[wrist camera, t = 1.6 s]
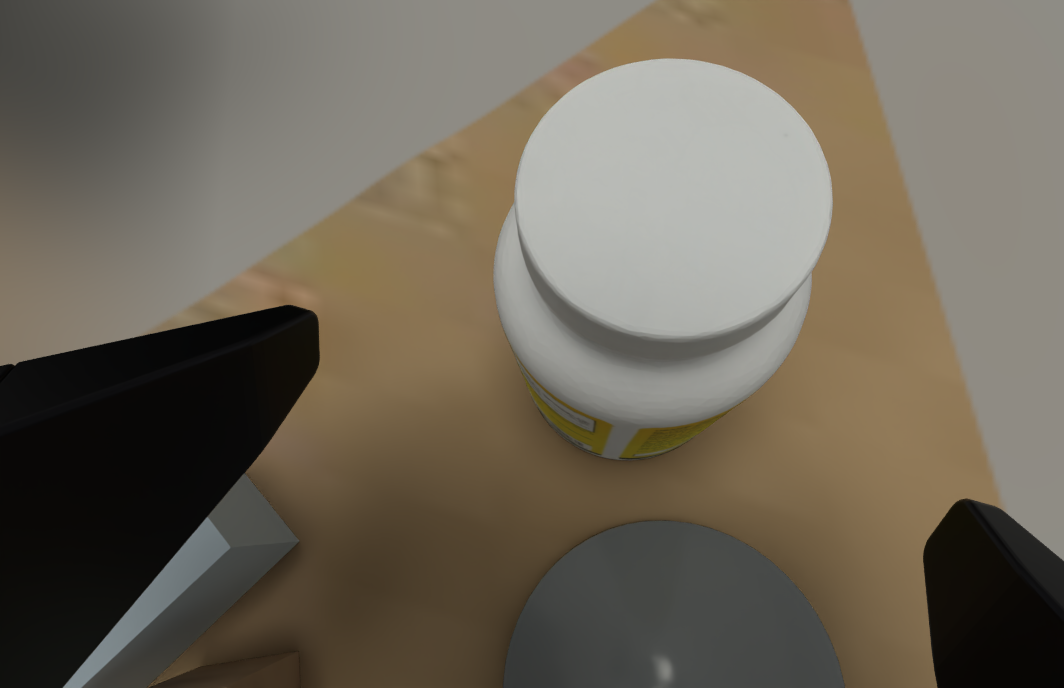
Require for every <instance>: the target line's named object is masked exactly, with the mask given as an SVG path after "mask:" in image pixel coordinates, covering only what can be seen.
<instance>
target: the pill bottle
mask: <svg viewBox="0 0 1064 688" xmlns="http://www.w3.org/2000/svg"><path fill="white" fill-rule="evenodd" d="M832 206H833V199H832V185H831V177H830V173H829V169H828V165H827V162H826V159H825V157H824V154H823V152H822V149H821V147H820V145H819V143H818V141H817V139H816V137H815V136H814V134H813V132H812V130H811V128H810V127H809V126H808V125H807V123H806V122H805V121H804V120H803V118H802V117H801V116H800V115H799V114H798V113H797V111H796V110H795V109H794V108H793V107H792V106H791V105H790V104H789V103H788V102H786V101H785V100H784V99H783V98H782V97H781V96H780V95H778V94H777V93H776V92H774V91H773V90H771V89H770V88H768V87H767V86H765V85H764V84H762V83H760V82H759V81H757V80H755V79H753V78H751V77H749V76H747V75H745V74H743V73H740V72H738V71H735V70H732V69H730V68H727V67H724V66H720V65H716V64H712V63H707V62H702V61H697V60H688V59H654V60H647V61H641V62H635V63H630V64H626V65H622V66H619V67H615V68H612V69H610V70H607V71H605V72H602V73H600V74H598V75H596V76H594V77H592V78H589V79H587V80H585V81H584V82H582V83H581V84H579V85H578V86H576V87H574V88H573V89H572V90H571V91H569V92H568V93H567V94H566V95H564V96H563V97H562V98H561V99H560V100H559V101H558V102H557V103H556V104H555V105H554V106H552V107H551V109H550V110H549V111H548V112H547V113H546V114H545V115H544V117H543V118H542V119H541V120H540V122H539V124H538V125H537V127H536V128H535V130H534V131H533V133H532V134H531V136H530V138H529V140H528V142H527V144H526V146H525V148H524V151H523V154H522V157H521V160H520V163H519V167H518V170H517V177H516V184H515V202H514V203H513V205H512V207H511V209H510V211H509V213H508V215H507V218H506V220H505V222H504V224H503V226H502V229H501V232H500V235H499V239H498V243H497V247H496V253H495V260H494V290H495V297H496V303H497V308H498V313H499V317H500V320H501V323H502V326H503V329H504V332H505V335H506V337H507V339H508V342H509V344H510V346H511V348H512V351H513V353H514V355H515V357H516V360H517V363H518V366H519V367H520V370H521V372H522V375H523V377H524V379H525V381H526V384H527V387H528V389H529V392H530V394H531V397H532V399H533V401H534V402H535V404H536V406H537V408H538V409H539V411H540V412H541V414H542V416H543V417H544V418H545V420H546V421H547V422H548V423H549V425H550V426H551V427H552V428H553V429H554V430H555V431H556V432H557V433H558V434H559V435H561V436H562V437H563V438H564V439H565V440H567V441H568V442H570V443H571V444H573V445H574V446H576V447H578V448H580V449H582V450H584V451H586V452H589V453H591V454H594V455H597V456H600V457H604V458H608V459H615V460H641V459H646V458H651V457H655V456H659V455H661V454H664V453H667V452H669V451H671V450H674V449H676V448H677V447H679V446H681V445H683V444H684V443H686V442H688V441H689V440H690V439H692V438H693V437H694V436H696V435H697V434H699V433H700V432H701V431H703V430H704V429H706V428H707V427H708V426H710V425H711V424H713V423H714V422H715V421H716V420H718V419H719V418H721V417H722V416H723V415H725V414H726V413H728V412H729V411H730V410H732V409H733V408H735V407H736V406H738V405H739V404H741V403H742V402H743V401H745V400H746V399H747V398H749V397H750V396H751V395H752V394H754V393H755V392H756V391H757V390H758V389H759V388H761V387H762V386H763V385H764V384H765V383H766V381H767V380H768V379H769V378H770V377H771V376H772V375H773V374H774V373H775V372H776V371H777V369H778V368H779V367H780V366H781V364H782V363H783V362H784V360H785V359H786V357H787V356H788V354H789V352H790V351H791V349H792V347H793V346H794V344H795V342H796V339H797V337H798V335H799V332H800V330H801V327H802V325H803V322H804V319H805V316H806V313H807V310H808V306H809V301H810V294H811V285H812V275H811V272H812V270H813V269H814V267H815V266H816V263H817V261H818V259H819V257H820V255H821V252H822V250H823V248H824V245H825V243H826V240H827V237H828V232H829V228H830V224H831V217H832Z"/></svg>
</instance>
